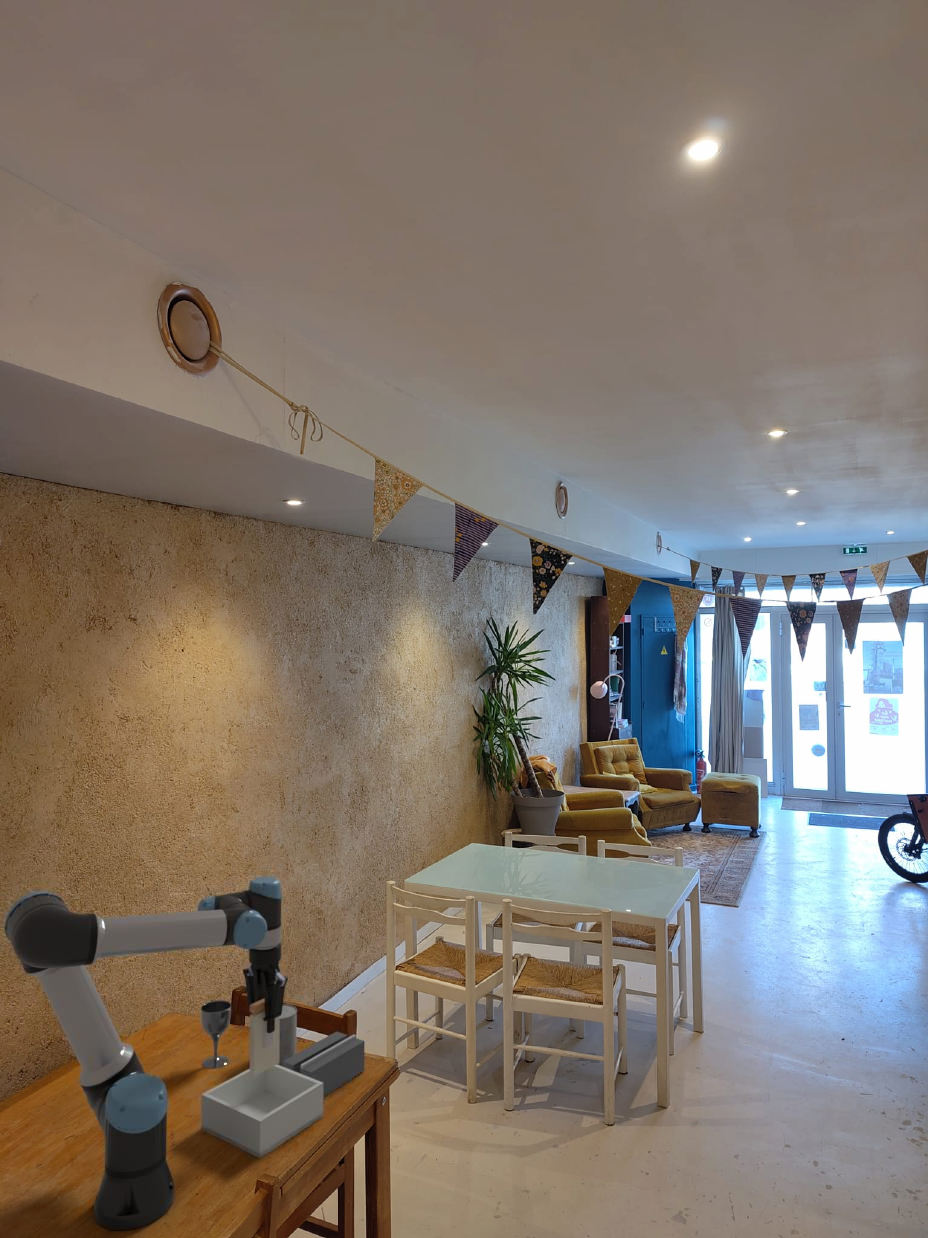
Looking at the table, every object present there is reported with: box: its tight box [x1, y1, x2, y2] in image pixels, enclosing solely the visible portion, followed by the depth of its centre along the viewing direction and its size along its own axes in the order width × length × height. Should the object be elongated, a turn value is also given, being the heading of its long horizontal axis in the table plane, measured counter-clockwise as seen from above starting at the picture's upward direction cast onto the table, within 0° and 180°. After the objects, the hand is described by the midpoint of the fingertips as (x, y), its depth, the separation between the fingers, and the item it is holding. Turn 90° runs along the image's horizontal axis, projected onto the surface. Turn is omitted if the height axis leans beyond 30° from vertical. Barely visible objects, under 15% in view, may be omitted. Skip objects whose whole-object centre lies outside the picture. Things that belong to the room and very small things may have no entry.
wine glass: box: [200, 999, 232, 1070], centre depth 227 cm, size 8×8×15 cm
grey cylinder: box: [277, 1003, 298, 1066], centre depth 230 cm, size 10×10×12 cm
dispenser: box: [282, 1031, 365, 1098], centre depth 217 cm, size 20×10×9 cm, turn 146°
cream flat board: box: [249, 999, 280, 1077], centre depth 199 cm, size 8×2×16 cm, turn 146°
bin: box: [200, 1065, 324, 1159], centre depth 198 cm, size 20×20×8 cm
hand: (264, 1044), depth 199 cm, fingers closed on cream flat board, 1 cm apart
